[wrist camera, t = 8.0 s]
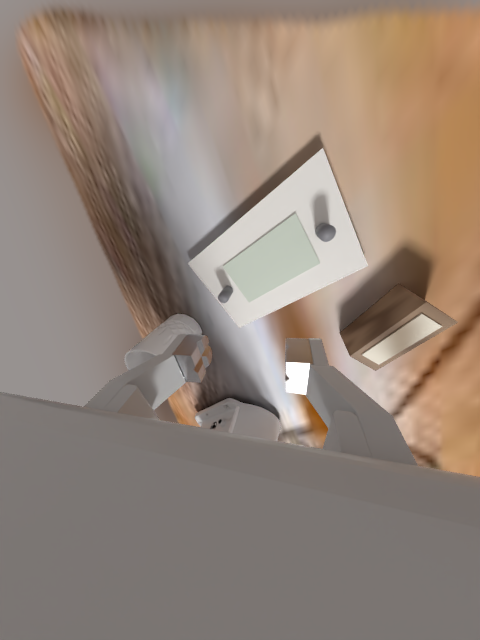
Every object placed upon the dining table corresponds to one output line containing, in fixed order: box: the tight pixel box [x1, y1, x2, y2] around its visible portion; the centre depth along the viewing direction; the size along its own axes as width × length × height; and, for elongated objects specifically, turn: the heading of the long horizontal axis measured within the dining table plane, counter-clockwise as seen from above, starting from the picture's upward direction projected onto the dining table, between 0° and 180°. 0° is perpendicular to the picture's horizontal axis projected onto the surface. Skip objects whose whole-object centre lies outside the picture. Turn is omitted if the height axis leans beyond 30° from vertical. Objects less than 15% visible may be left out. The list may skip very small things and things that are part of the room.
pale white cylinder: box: [124, 314, 202, 370], centre depth 28 cm, size 8×8×10 cm
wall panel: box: [188, 148, 368, 328], centre depth 20 cm, size 18×12×4 cm, turn 126°
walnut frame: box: [340, 284, 458, 371], centre depth 21 cm, size 9×4×5 cm, turn 153°
